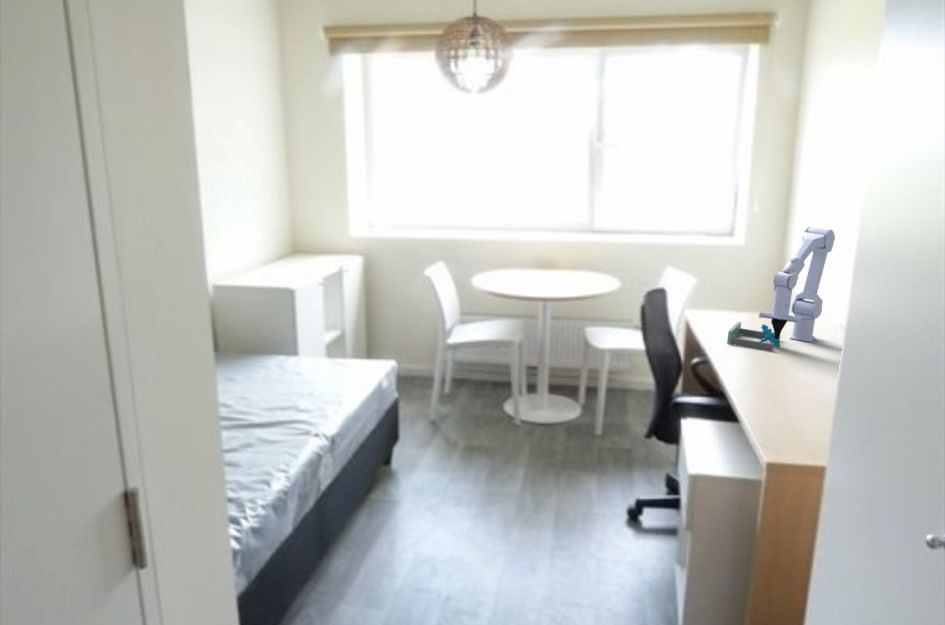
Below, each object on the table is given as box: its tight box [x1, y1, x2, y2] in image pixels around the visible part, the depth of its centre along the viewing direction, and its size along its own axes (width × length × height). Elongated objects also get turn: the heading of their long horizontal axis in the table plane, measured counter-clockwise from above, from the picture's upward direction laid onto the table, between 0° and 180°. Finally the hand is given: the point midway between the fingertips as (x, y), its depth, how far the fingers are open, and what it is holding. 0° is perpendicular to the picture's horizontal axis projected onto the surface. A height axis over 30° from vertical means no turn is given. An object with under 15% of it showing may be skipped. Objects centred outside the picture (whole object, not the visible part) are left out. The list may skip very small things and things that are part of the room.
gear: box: [758, 324, 781, 348], centre depth 267 cm, size 11×6×10 cm
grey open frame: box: [726, 321, 781, 352], centre depth 269 cm, size 18×16×5 cm
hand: (776, 338), depth 265 cm, fingers closed
